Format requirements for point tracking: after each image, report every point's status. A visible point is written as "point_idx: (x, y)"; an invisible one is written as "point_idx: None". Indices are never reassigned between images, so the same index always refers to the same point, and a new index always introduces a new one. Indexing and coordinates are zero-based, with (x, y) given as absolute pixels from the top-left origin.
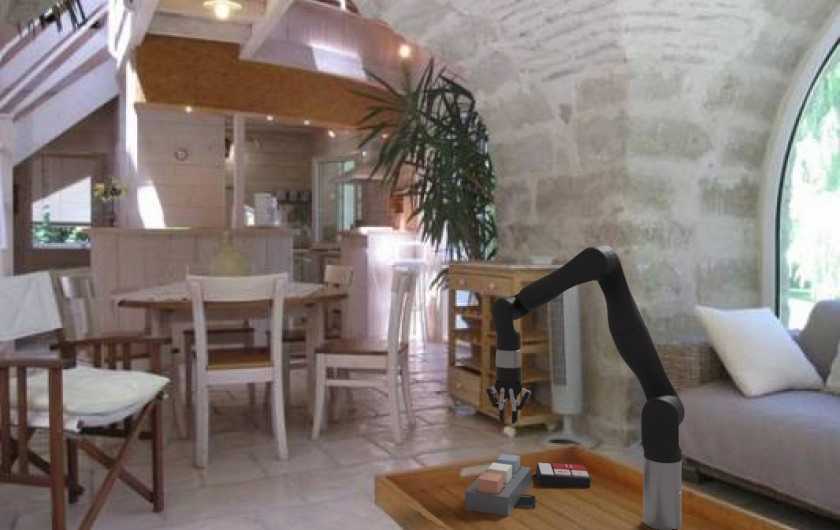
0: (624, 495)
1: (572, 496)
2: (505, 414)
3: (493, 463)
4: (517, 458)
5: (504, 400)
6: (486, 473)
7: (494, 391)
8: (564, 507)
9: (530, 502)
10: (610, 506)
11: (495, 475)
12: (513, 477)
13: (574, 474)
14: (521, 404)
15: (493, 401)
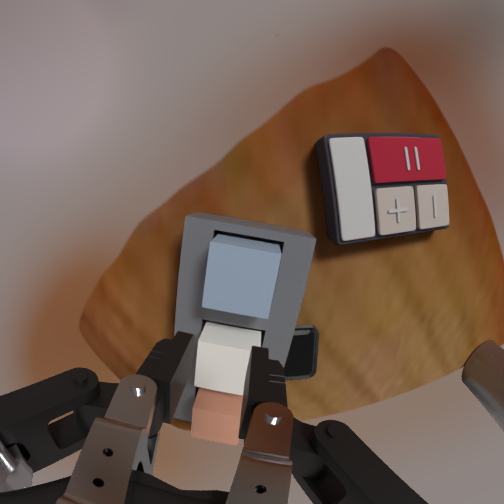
0: (478, 261)
1: (397, 293)
2: (182, 358)
3: (200, 347)
4: (273, 285)
5: (147, 472)
6: (200, 413)
7: (25, 484)
8: (372, 354)
9: (306, 360)
10: (447, 324)
11: (225, 422)
12: (265, 335)
13: (423, 223)
14: (322, 494)
15: (70, 441)
